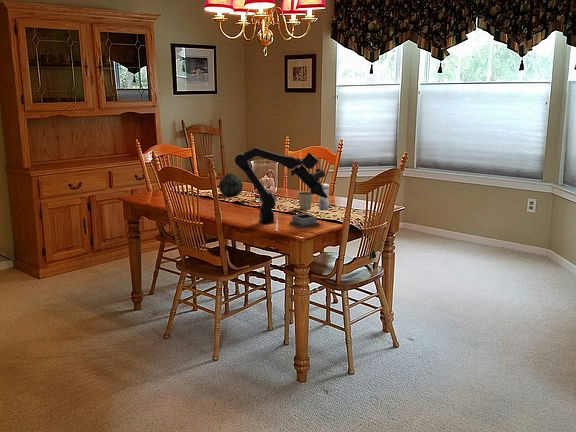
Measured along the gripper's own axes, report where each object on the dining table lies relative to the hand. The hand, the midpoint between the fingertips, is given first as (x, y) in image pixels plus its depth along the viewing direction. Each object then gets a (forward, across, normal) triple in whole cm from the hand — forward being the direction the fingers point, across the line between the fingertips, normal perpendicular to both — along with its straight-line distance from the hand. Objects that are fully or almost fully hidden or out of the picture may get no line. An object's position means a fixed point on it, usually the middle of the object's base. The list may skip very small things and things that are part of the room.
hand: (326, 196), depth 298 cm
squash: (-29, +75, +48) cm, 94 cm away
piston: (+4, 0, +6) cm, 7 cm away
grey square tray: (+1, -4, +18) cm, 18 cm away
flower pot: (+3, +32, +16) cm, 36 cm away
